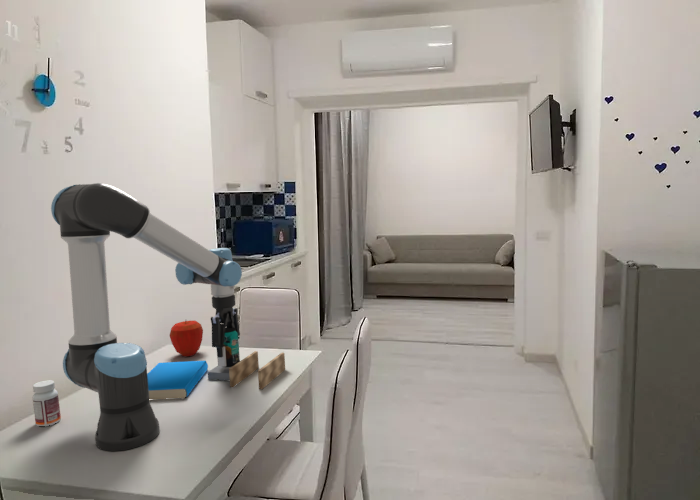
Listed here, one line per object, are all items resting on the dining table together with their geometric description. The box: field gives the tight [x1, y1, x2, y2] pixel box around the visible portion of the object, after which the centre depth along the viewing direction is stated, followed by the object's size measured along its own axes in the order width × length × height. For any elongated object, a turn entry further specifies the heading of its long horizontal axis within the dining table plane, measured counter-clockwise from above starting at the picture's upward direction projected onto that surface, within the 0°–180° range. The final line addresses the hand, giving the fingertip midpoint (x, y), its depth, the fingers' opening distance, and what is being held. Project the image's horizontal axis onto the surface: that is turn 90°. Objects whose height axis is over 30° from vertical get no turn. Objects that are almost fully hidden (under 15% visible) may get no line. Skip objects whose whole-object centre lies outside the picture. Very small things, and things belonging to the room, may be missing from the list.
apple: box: [169, 320, 204, 357], centre depth 202 cm, size 12×12×14 cm
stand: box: [207, 365, 231, 381], centre depth 179 cm, size 10×10×2 cm
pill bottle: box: [32, 379, 62, 427], centre depth 147 cm, size 6×6×11 cm
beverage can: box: [220, 327, 241, 367], centre depth 177 cm, size 7×7×12 cm
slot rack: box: [229, 350, 286, 390], centre depth 174 cm, size 18×11×6 cm, turn 163°
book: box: [147, 360, 209, 400], centre depth 172 cm, size 17×4×25 cm
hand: (228, 362), depth 178 cm, fingers closed on beverage can, 7 cm apart
